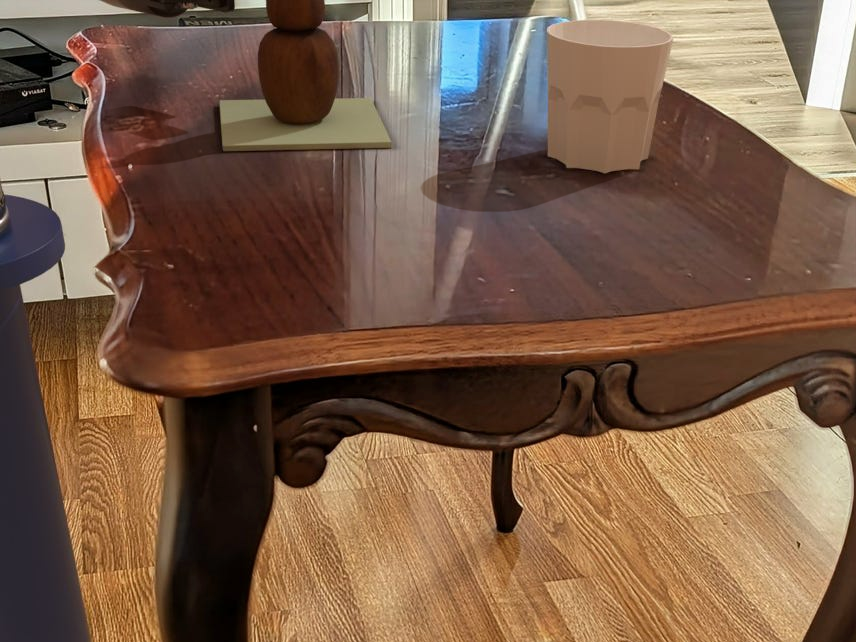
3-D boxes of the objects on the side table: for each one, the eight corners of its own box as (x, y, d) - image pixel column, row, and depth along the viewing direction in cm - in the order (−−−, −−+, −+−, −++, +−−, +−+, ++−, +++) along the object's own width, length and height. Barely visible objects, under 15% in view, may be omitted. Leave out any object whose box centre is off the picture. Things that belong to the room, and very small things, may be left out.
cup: (680, 169, 95) (697, 42, 90) (575, 181, 92) (586, 50, 86) (617, 135, 103) (630, 17, 97) (518, 146, 99) (525, 23, 93)
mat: (222, 151, 95) (222, 145, 94) (219, 105, 106) (219, 99, 106) (391, 147, 97) (391, 141, 97) (371, 103, 108) (370, 97, 108)
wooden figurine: (314, 106, 105) (307, -77, 96) (351, 121, 101) (346, -68, 93) (250, 117, 101) (236, -73, 93) (286, 133, 98) (274, -63, 89)
